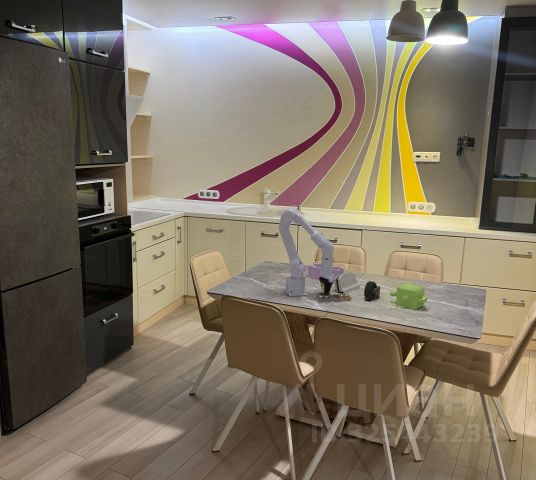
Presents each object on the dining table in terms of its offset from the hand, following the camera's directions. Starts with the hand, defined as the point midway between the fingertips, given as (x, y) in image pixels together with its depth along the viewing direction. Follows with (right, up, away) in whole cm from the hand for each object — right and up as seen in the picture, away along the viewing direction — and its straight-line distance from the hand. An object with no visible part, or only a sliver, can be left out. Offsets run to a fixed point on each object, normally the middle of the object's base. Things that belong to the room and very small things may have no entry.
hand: (325, 292), depth 250 cm
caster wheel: (+24, -3, -1) cm, 24 cm away
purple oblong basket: (+4, +4, +35) cm, 35 cm away
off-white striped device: (+12, 0, +13) cm, 18 cm away
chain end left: (+1, -3, -6) cm, 7 cm away
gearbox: (+38, -5, -12) cm, 40 cm away
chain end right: (+6, -3, -5) cm, 8 cm away
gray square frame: (0, -2, 0) cm, 2 cm away
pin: (0, -2, 0) cm, 2 cm away
